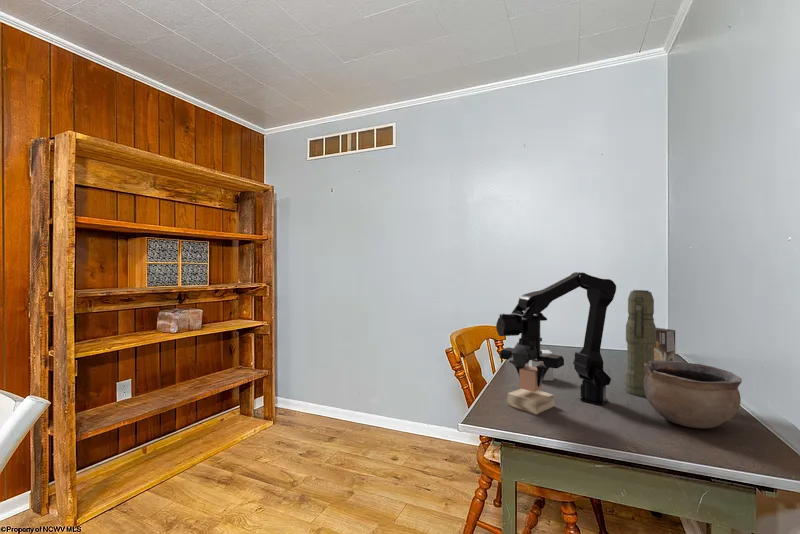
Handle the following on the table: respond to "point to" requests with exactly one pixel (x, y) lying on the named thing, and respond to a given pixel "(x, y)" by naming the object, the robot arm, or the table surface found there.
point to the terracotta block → (528, 379)
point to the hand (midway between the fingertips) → (530, 384)
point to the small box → (535, 363)
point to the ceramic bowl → (692, 393)
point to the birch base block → (530, 400)
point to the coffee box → (664, 345)
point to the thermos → (639, 339)
